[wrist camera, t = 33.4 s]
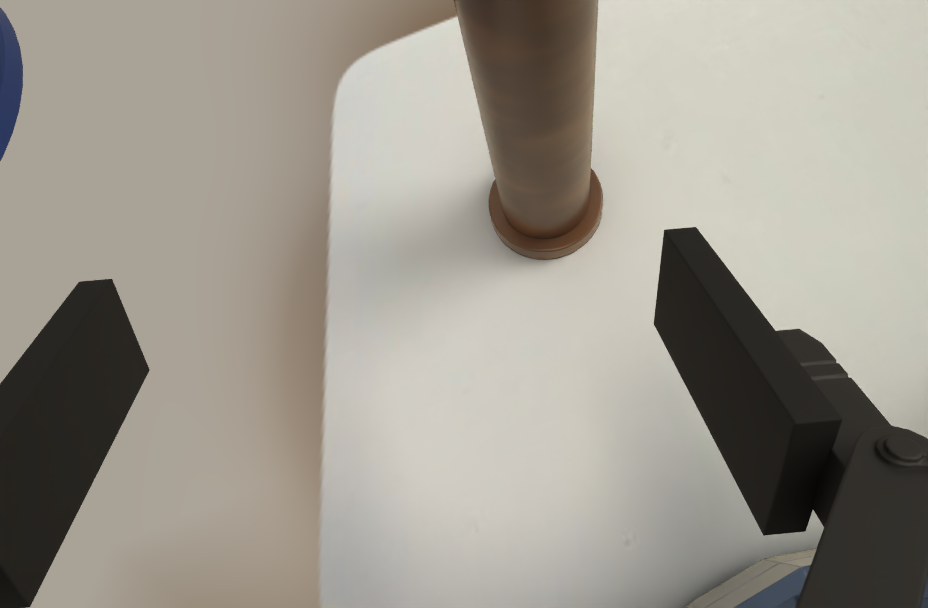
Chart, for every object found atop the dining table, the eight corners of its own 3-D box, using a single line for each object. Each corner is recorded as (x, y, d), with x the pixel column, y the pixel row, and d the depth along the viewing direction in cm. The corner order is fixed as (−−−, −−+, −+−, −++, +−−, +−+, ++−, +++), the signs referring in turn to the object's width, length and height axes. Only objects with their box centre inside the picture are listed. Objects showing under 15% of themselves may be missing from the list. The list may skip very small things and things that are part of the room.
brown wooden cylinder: (483, 254, 32) (379, -49, 15) (499, 155, 33) (421, -223, 16) (596, 264, 31) (622, -48, 14) (607, 162, 32) (643, -234, 15)
